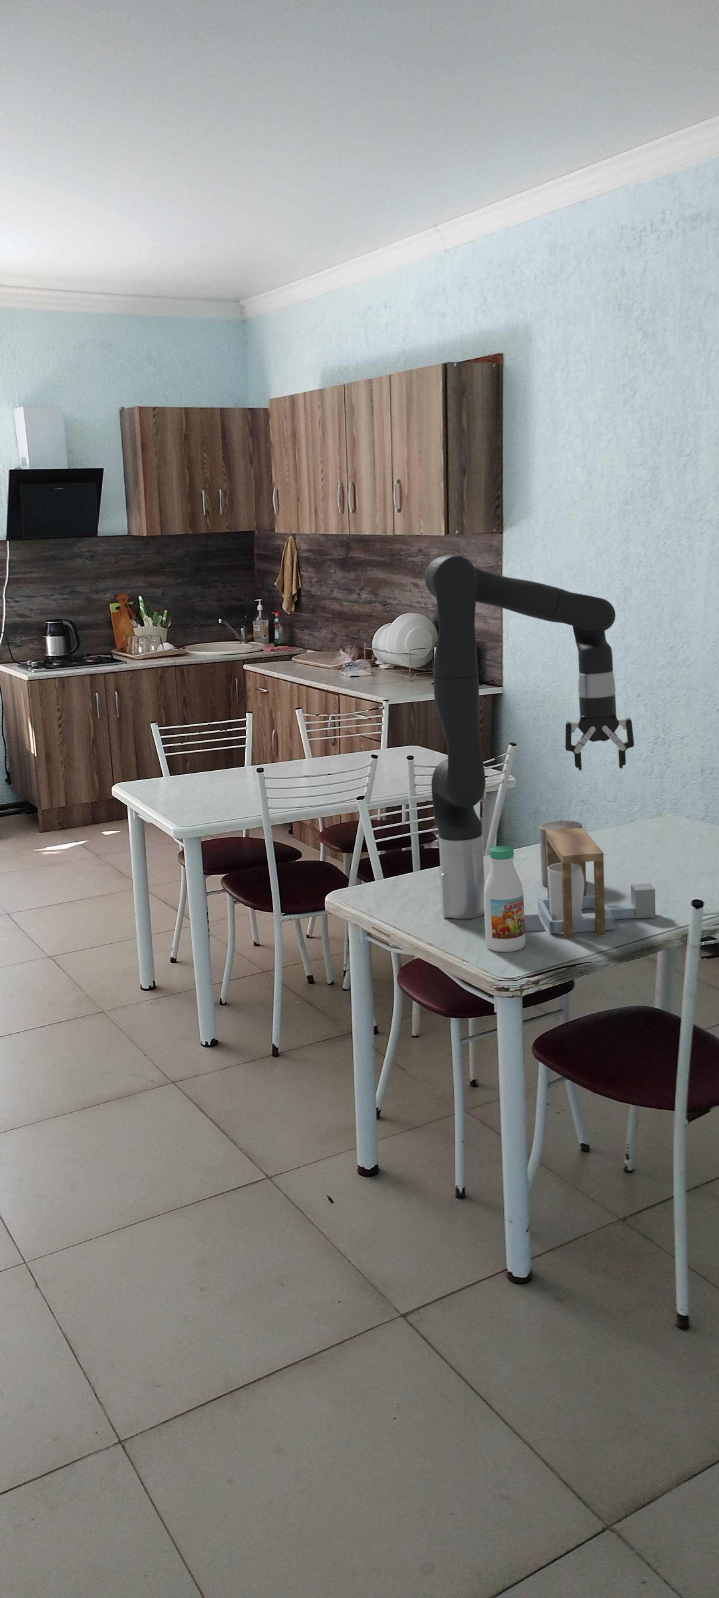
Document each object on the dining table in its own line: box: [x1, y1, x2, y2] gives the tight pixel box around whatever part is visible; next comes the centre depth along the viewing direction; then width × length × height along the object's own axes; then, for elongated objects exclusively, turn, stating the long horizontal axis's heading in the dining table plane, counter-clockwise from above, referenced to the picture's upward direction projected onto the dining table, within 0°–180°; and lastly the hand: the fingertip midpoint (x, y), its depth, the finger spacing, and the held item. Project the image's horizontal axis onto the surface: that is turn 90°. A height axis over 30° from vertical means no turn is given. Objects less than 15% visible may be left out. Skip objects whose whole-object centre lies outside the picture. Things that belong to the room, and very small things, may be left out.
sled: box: [537, 882, 656, 935], centre depth 240 cm, size 22×15×6 cm, turn 91°
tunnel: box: [545, 827, 606, 939], centre depth 239 cm, size 8×20×17 cm, turn 1°
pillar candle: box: [538, 819, 583, 888], centre depth 265 cm, size 10×10×15 cm
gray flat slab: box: [524, 914, 546, 934], centre depth 241 cm, size 6×10×1 cm, turn 1°
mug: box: [548, 863, 584, 921], centre depth 240 cm, size 10×7×12 cm, turn 136°
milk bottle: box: [484, 845, 526, 953], centre depth 227 cm, size 8×8×20 cm
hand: (600, 768), depth 249 cm, fingers open, 8 cm apart
